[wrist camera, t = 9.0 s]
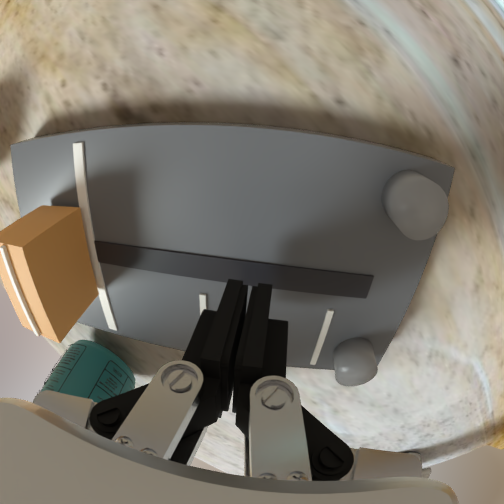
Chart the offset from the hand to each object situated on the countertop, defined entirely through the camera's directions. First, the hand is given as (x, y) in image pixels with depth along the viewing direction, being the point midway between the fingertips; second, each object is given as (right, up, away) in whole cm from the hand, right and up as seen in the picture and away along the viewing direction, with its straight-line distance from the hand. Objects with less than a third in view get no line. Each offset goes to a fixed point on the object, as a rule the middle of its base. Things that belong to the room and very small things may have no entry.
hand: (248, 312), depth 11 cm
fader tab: (-9, +2, +2) cm, 10 cm away
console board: (-3, +3, +3) cm, 5 cm away
